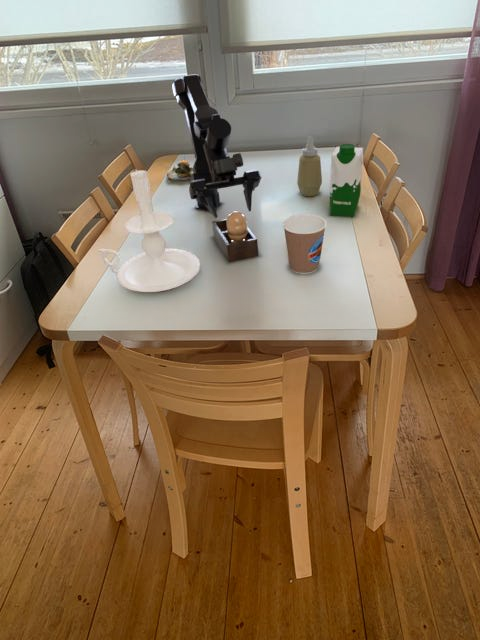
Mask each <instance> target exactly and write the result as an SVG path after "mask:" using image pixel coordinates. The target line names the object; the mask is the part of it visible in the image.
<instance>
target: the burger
mask: <svg viewBox="0 0 480 640" xmlns="http://www.w3.org/2000/svg"><path fill="white" fill-rule="evenodd" d="M185 158H186V157H185V156H184V159H183V160H181V161H178V162H177V167H176V166H173V167H172V170H170V171H169V172H167V174H166V177H167V178H169V179H171V180H174V181H185V180H190V179H191V177H192V173H193V170H192V168H193V167H190V166H191V165H190V163H189V161H188V160H186V159H185Z"/></svg>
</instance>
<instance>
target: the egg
mask: <svg viewBox="0 0 480 640" xmlns="http://www.w3.org/2000/svg"><path fill="white" fill-rule="evenodd" d="M226 219H227V222H226V223H227V233H228V236H229V238H230V239H231V243H235V242H240V241H244V240H245V237H246V235H247V226H248V220H247V216H246V215H245V214H244V213H243V212H242V211H237V210H236V211H235V210H234V211H231V212H230V213H229V214H228V215H227V217H226Z"/></svg>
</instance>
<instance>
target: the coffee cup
mask: <svg viewBox="0 0 480 640" xmlns="http://www.w3.org/2000/svg"><path fill="white" fill-rule="evenodd" d="M327 224H328V223H327V220H326V219H325V218H323V217H322V216H320V215H318V214H317V215H316V214H312V213H299V214H295V215H291V216H288V217H286V218H285V219H284V220H283V222H282V227H283V230H284V237H285V245H286V252H287V259H288V264H289V268H290V270H291V271H292V272H293V273H296V274H299V275H309V274H312V273H314V272H316V271H317V270H318V269H319V265H320V260H321V255H322V250H323V244H324V237H325V232H326V231H325V230H326V227H327Z"/></svg>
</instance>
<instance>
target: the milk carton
mask: <svg viewBox="0 0 480 640" xmlns="http://www.w3.org/2000/svg"><path fill="white" fill-rule="evenodd" d="M363 165H364V147H356V146H355V145H354V144H351V143H342V144H340V145H339V146H336V147H335V149H334V150H333V153H332V154H331V160H330V173H329V215H330V216H335V217H348V218H349V217H350V218H353V217H355V214H356V212H357V209H358V205H359V203H360V202H359V201H360V198H361V192H362V181H363Z"/></svg>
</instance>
